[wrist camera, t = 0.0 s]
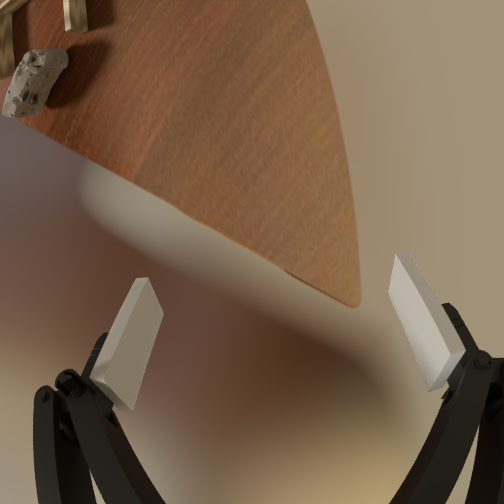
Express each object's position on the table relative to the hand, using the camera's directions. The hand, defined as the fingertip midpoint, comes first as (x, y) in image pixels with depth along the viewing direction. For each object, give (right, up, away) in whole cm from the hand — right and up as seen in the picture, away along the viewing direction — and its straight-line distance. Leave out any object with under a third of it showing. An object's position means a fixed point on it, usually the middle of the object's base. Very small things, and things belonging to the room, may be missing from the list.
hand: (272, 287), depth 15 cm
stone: (-35, +30, +18) cm, 49 cm away
